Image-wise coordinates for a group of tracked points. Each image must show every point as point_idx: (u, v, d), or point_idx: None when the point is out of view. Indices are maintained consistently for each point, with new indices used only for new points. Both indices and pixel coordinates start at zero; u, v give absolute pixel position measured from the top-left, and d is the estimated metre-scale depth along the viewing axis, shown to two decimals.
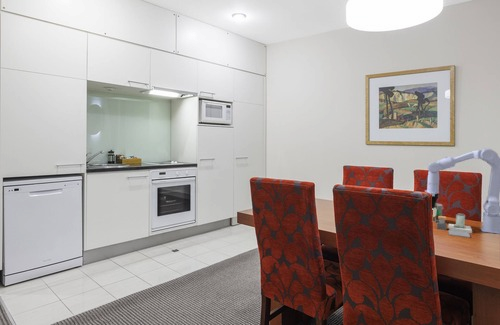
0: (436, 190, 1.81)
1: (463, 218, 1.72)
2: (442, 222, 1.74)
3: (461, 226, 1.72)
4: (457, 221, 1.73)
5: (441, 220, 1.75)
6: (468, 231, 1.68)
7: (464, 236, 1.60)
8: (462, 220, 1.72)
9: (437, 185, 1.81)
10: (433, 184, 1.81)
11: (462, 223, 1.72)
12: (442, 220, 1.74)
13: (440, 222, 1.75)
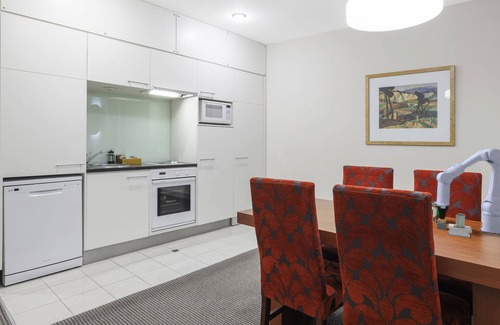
0: (446, 202, 1.72)
1: (463, 218, 1.72)
2: None
3: (461, 226, 1.72)
4: (457, 221, 1.73)
5: (441, 222, 1.75)
6: (468, 231, 1.68)
7: (464, 236, 1.60)
8: (462, 220, 1.72)
9: (448, 196, 1.72)
10: (443, 195, 1.72)
11: (462, 223, 1.72)
12: (442, 222, 1.74)
13: None
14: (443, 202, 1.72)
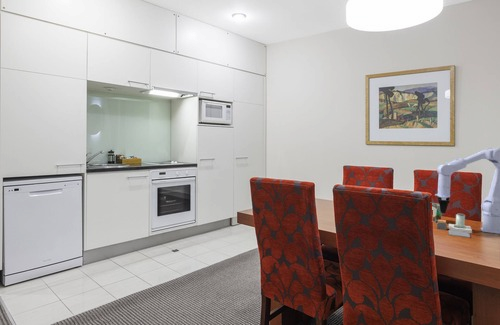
0: (447, 194, 1.72)
1: (463, 218, 1.72)
2: None
3: (461, 226, 1.72)
4: (457, 221, 1.73)
5: None
6: (468, 231, 1.68)
7: (464, 236, 1.60)
8: (462, 220, 1.72)
9: (448, 188, 1.72)
10: (444, 187, 1.72)
11: (462, 223, 1.72)
12: None
13: None
14: (444, 194, 1.72)
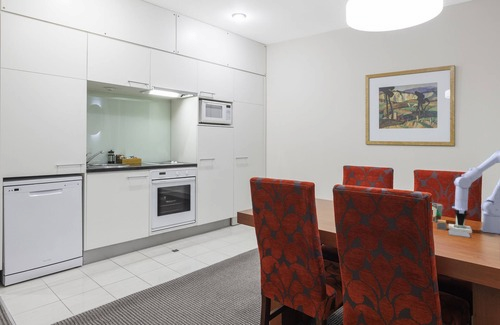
0: (465, 207, 1.71)
1: None
2: None
3: (461, 226, 1.72)
4: None
5: None
6: (468, 231, 1.68)
7: (464, 236, 1.60)
8: None
9: (466, 201, 1.71)
10: (462, 200, 1.71)
11: None
12: None
13: None
14: (461, 207, 1.71)
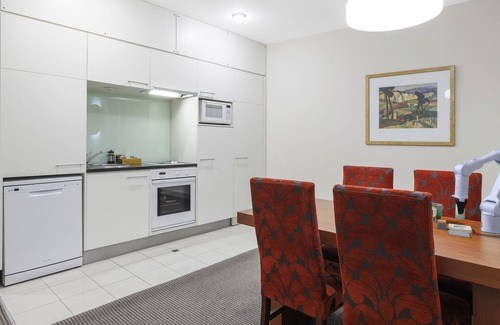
0: (465, 195, 1.65)
1: None
2: None
3: (461, 215, 1.67)
4: None
5: None
6: (468, 231, 1.68)
7: (464, 236, 1.60)
8: None
9: (466, 189, 1.65)
10: (462, 188, 1.65)
11: None
12: None
13: None
14: (462, 195, 1.65)
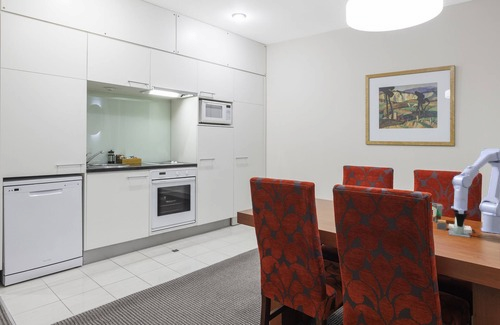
0: (464, 207, 1.61)
1: None
2: None
3: (460, 230, 1.63)
4: (456, 224, 1.64)
5: None
6: (468, 231, 1.68)
7: (464, 236, 1.60)
8: None
9: (466, 201, 1.61)
10: (461, 200, 1.62)
11: None
12: None
13: None
14: (461, 207, 1.62)
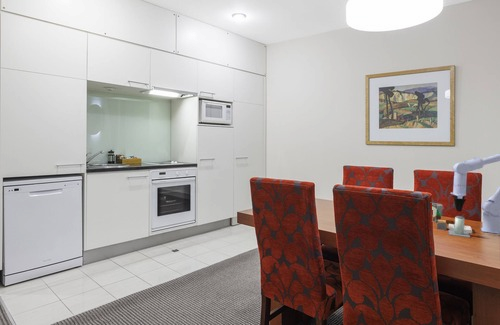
0: (463, 192, 1.71)
1: (462, 221, 1.63)
2: None
3: (460, 230, 1.63)
4: (456, 224, 1.64)
5: None
6: (468, 231, 1.68)
7: (464, 236, 1.60)
8: (461, 223, 1.63)
9: (464, 187, 1.72)
10: (460, 186, 1.72)
11: (462, 226, 1.63)
12: None
13: None
14: (460, 193, 1.72)
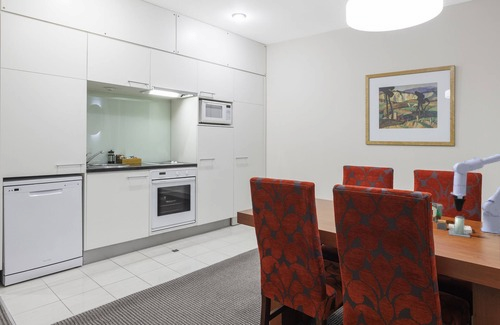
0: (463, 192, 1.71)
1: (462, 221, 1.63)
2: None
3: (460, 229, 1.63)
4: (456, 224, 1.64)
5: None
6: (468, 231, 1.68)
7: (464, 236, 1.60)
8: (461, 223, 1.63)
9: (464, 187, 1.72)
10: (460, 186, 1.72)
11: (462, 226, 1.63)
12: None
13: None
14: (460, 193, 1.72)
